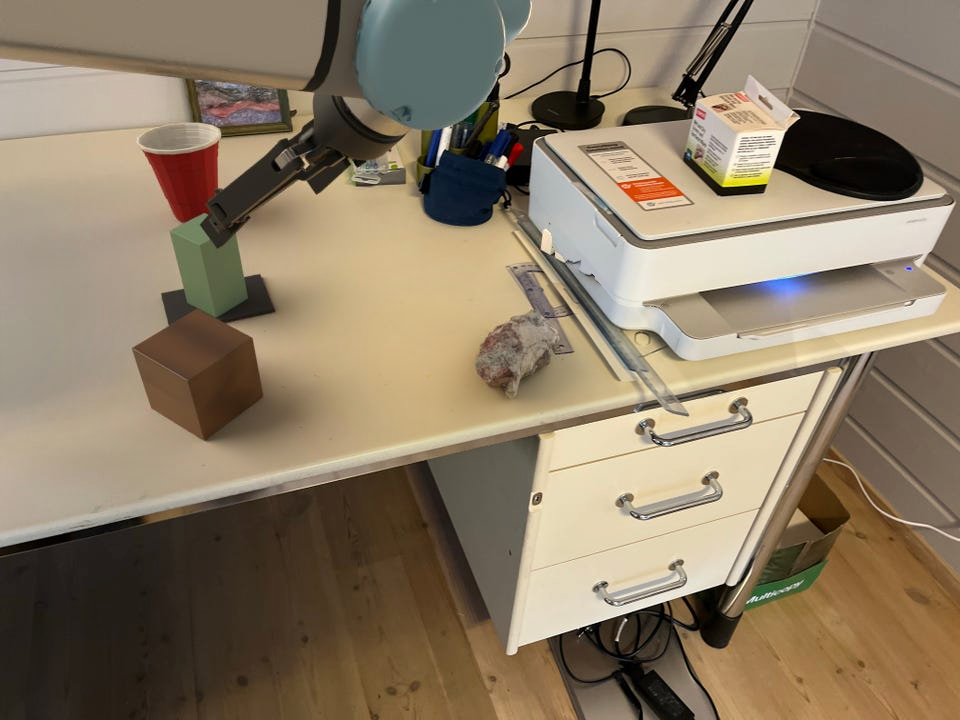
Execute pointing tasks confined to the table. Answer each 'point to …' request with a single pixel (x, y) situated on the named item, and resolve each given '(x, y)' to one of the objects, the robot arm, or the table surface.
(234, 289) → the top block
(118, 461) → the table surface
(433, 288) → the table surface
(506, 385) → the mineral rock
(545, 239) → the modular blocks
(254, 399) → the base block
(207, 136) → the plastic cup
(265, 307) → the mat
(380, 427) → the table surface
